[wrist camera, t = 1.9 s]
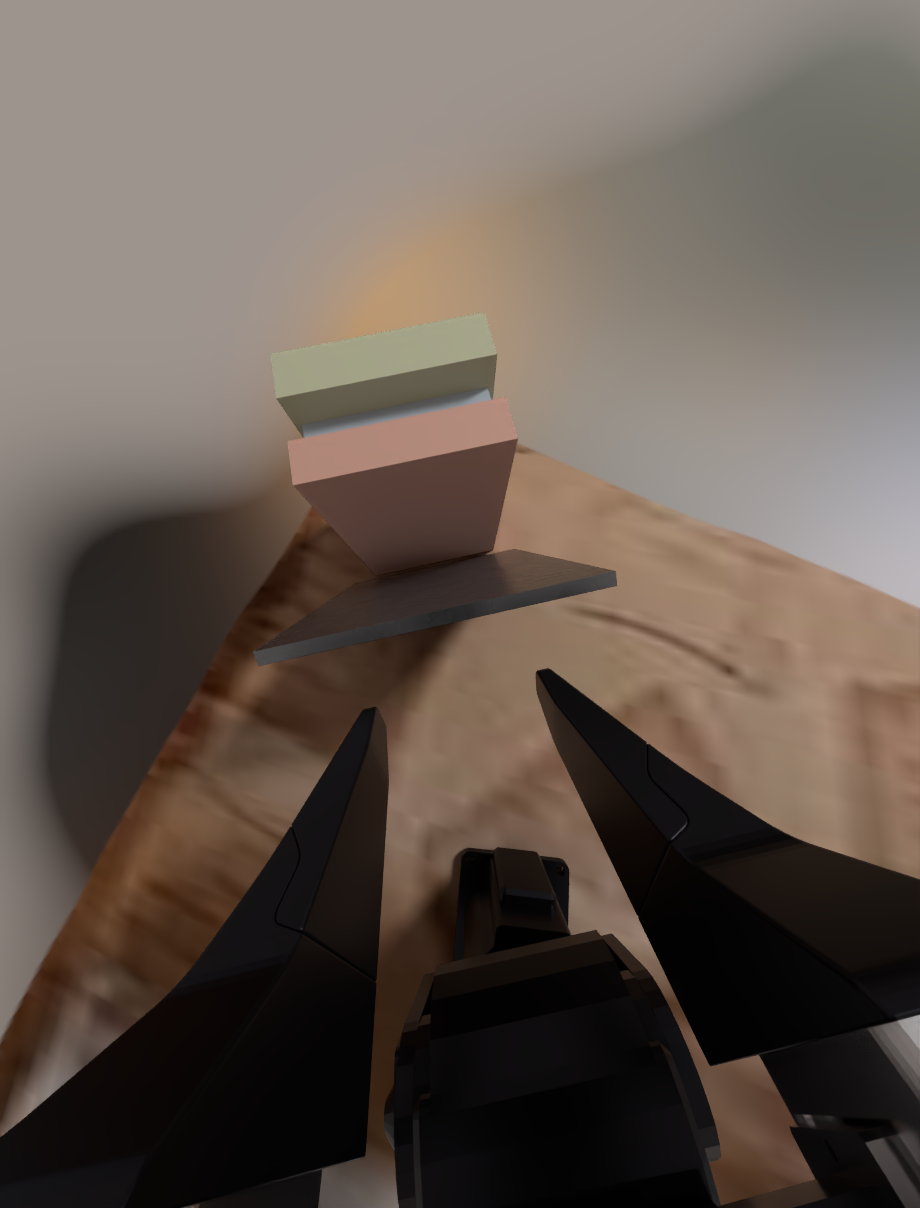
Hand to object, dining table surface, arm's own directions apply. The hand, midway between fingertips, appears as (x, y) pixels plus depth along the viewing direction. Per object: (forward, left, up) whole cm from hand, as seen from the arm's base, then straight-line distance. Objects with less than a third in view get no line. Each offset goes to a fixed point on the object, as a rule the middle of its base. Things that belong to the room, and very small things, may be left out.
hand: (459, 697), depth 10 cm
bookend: (+8, +3, -13) cm, 15 cm away
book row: (+11, +4, -13) cm, 18 cm away
